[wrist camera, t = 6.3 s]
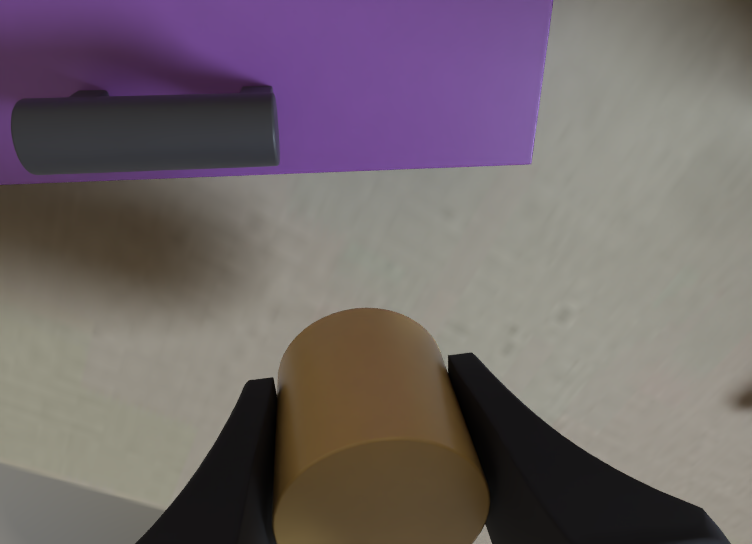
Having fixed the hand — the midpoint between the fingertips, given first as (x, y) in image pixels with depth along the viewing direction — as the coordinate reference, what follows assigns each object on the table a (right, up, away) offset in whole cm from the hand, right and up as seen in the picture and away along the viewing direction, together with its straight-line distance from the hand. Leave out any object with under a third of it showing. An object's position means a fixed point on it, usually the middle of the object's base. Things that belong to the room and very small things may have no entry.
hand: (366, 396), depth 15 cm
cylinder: (0, 0, +1) cm, 1 cm away
